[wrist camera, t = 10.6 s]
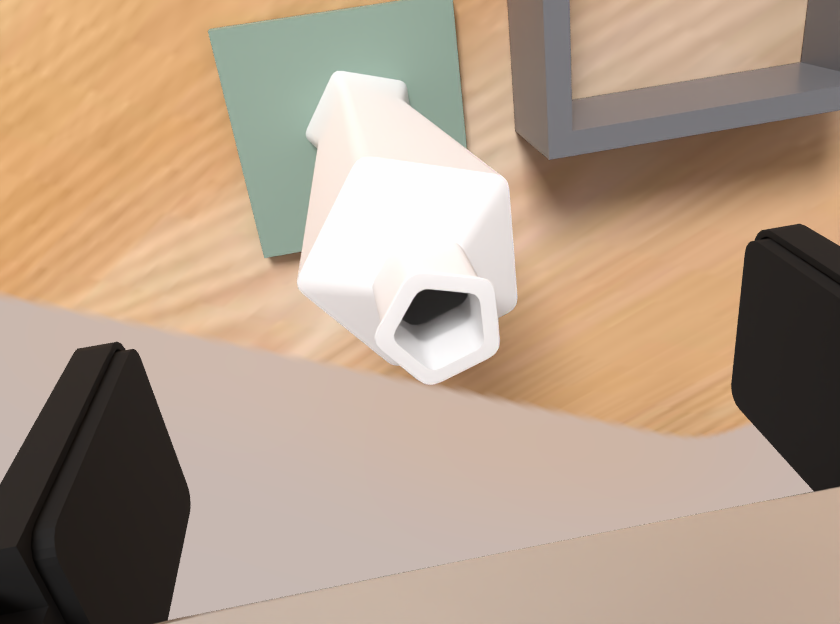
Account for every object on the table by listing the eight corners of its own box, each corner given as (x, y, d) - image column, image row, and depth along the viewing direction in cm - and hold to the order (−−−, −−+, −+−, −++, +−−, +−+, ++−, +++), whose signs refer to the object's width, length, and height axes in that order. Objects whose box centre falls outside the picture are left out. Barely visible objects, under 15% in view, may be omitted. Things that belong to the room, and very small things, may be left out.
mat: (448, -7, 24) (451, -6, 24) (470, 215, 28) (473, 221, 27) (210, 28, 23) (207, 30, 23) (264, 251, 27) (264, 258, 27)
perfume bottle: (393, 210, 27) (492, 472, 13) (283, 159, 25) (272, 396, 12) (453, 96, 25) (630, 267, 12) (339, 35, 24) (398, 153, 10)
